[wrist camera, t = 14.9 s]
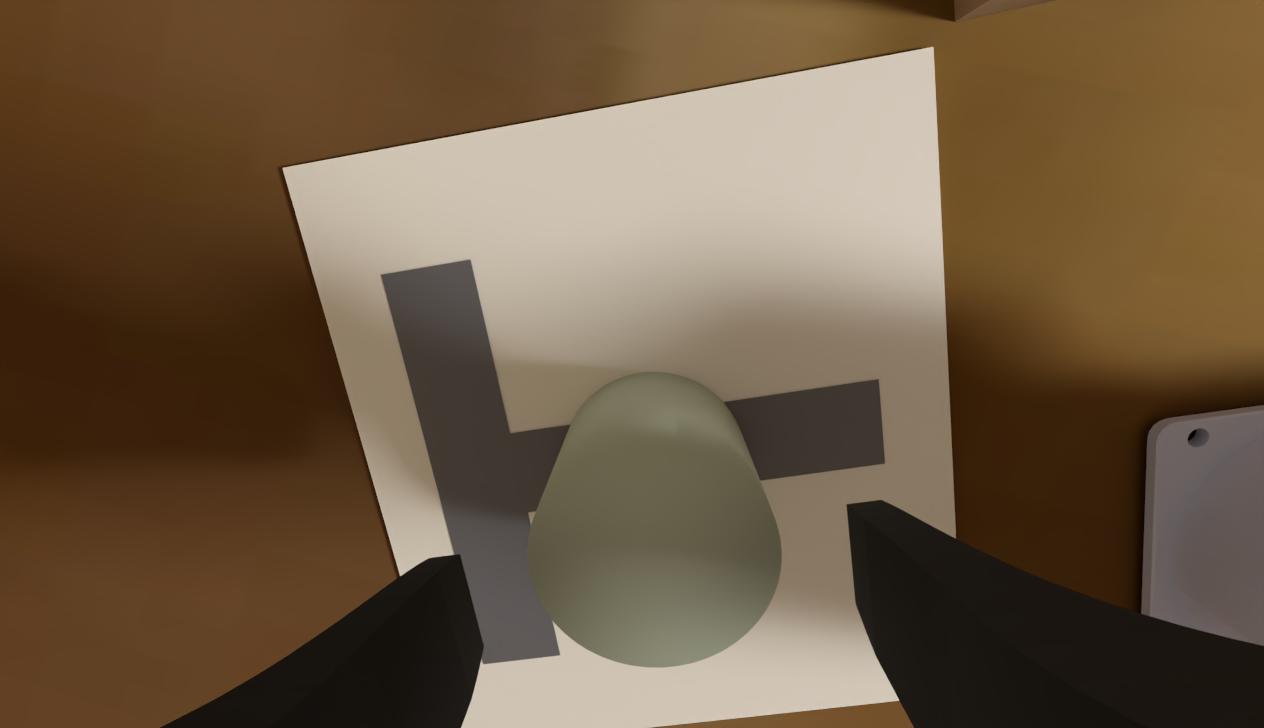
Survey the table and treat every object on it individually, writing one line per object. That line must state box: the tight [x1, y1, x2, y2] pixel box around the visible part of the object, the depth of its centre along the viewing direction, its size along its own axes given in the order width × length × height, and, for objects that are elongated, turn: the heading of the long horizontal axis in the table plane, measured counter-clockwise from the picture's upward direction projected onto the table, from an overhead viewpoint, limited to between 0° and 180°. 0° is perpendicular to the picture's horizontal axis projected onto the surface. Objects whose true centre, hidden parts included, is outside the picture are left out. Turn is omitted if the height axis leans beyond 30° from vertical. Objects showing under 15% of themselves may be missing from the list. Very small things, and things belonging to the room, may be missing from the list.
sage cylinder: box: [527, 372, 782, 668], centre depth 14 cm, size 5×5×5 cm
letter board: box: [282, 47, 956, 728], centre depth 17 cm, size 16×18×1 cm
